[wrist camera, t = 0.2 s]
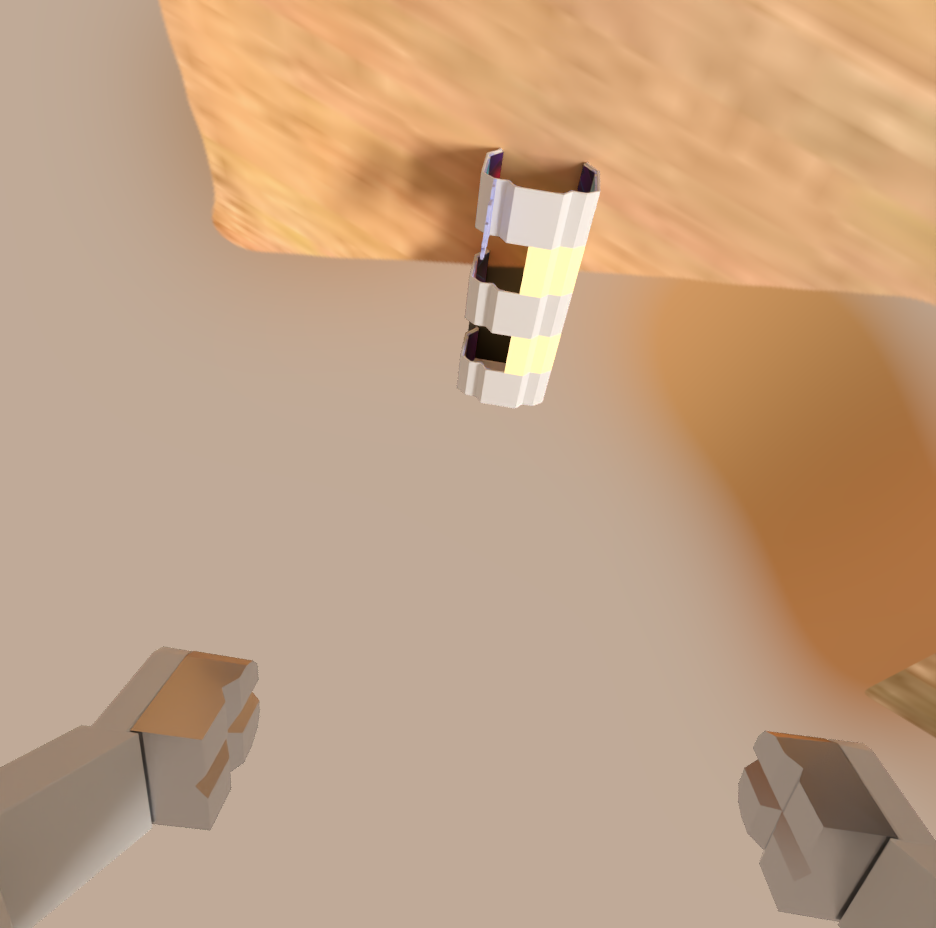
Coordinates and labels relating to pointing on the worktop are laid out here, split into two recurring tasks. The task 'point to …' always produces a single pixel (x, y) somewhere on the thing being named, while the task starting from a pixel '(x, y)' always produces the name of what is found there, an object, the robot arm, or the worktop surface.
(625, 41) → the worktop surface
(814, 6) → the worktop surface
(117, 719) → the robot arm
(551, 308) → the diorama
